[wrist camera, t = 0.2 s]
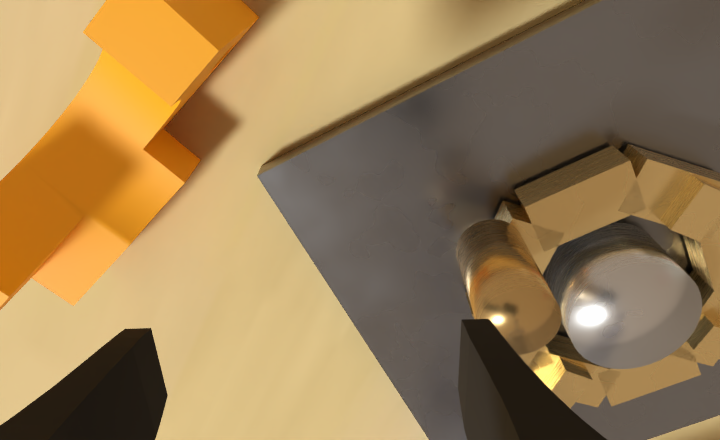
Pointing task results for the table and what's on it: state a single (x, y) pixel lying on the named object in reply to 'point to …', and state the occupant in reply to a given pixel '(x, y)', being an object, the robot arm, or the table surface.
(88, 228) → the pipe clamp
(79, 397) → the robot arm
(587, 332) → the housing
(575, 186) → the ring nut
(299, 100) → the table surface
